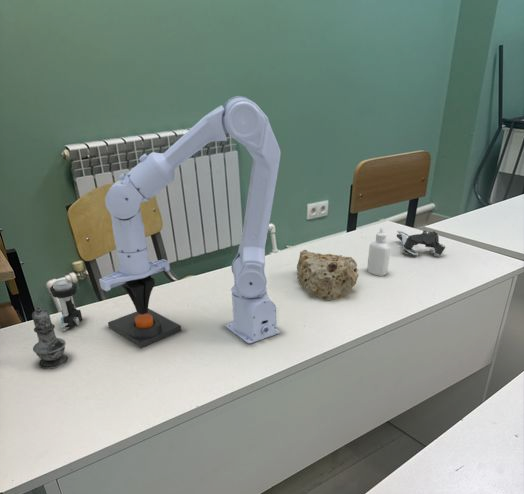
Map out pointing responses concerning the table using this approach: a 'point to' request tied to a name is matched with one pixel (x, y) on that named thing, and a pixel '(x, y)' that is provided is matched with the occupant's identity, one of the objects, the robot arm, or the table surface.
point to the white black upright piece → (67, 303)
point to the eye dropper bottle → (378, 255)
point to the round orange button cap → (144, 321)
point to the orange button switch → (144, 329)
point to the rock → (326, 274)
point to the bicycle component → (420, 242)
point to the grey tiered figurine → (48, 341)
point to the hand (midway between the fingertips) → (142, 312)
